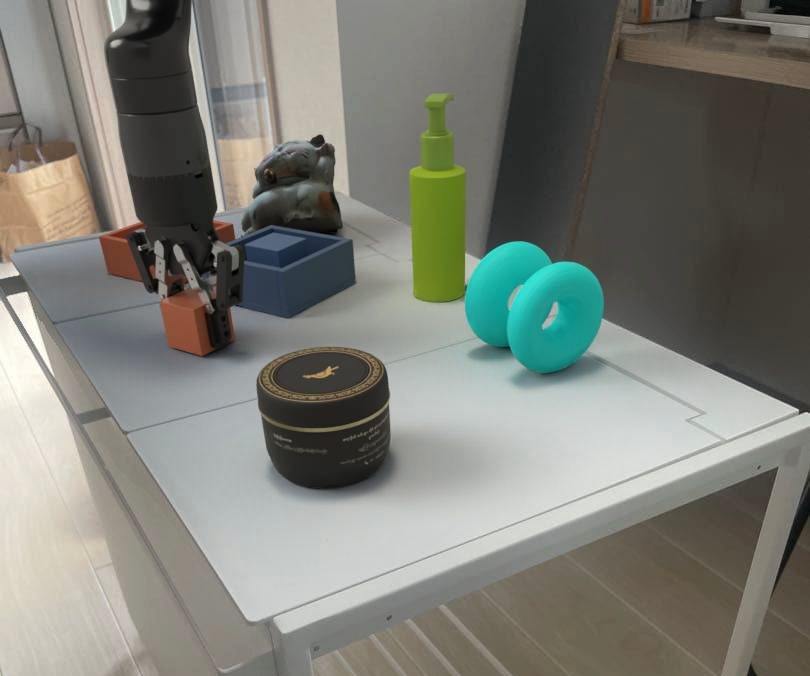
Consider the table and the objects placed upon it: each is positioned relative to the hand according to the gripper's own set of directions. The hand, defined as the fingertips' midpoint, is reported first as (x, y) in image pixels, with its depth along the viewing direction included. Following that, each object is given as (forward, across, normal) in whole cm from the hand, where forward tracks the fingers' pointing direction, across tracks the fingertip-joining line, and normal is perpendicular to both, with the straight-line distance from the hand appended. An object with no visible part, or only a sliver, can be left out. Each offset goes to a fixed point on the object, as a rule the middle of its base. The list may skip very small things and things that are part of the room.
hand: (201, 339), depth 86 cm
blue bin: (+1, -3, +16) cm, 16 cm away
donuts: (+1, +31, +14) cm, 33 cm away
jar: (+1, +26, -12) cm, 28 cm away
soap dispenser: (+1, +14, +24) cm, 28 cm away
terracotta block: (0, 0, 0) cm, 0 cm away
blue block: (0, -3, +16) cm, 16 cm away
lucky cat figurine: (+1, -16, +33) cm, 37 cm away
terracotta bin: (+1, -21, +16) cm, 26 cm away
